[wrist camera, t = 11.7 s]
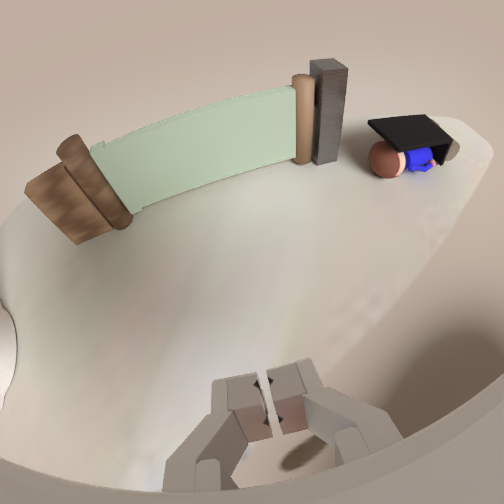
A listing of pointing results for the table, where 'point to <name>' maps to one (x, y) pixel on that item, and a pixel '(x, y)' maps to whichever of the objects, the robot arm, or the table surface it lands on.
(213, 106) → the gate
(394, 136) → the figurine character
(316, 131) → the latch post
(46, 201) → the wooden hinge block
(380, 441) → the robot arm
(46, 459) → the table surface
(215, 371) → the table surface
